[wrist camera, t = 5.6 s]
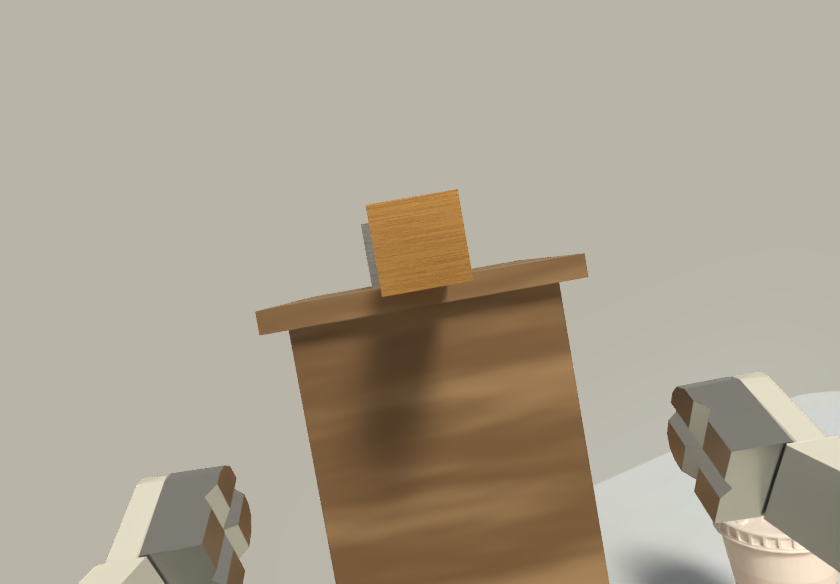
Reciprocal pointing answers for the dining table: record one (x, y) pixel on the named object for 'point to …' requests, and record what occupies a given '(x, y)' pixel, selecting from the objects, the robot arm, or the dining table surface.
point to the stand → (449, 430)
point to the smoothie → (770, 555)
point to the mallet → (416, 243)
